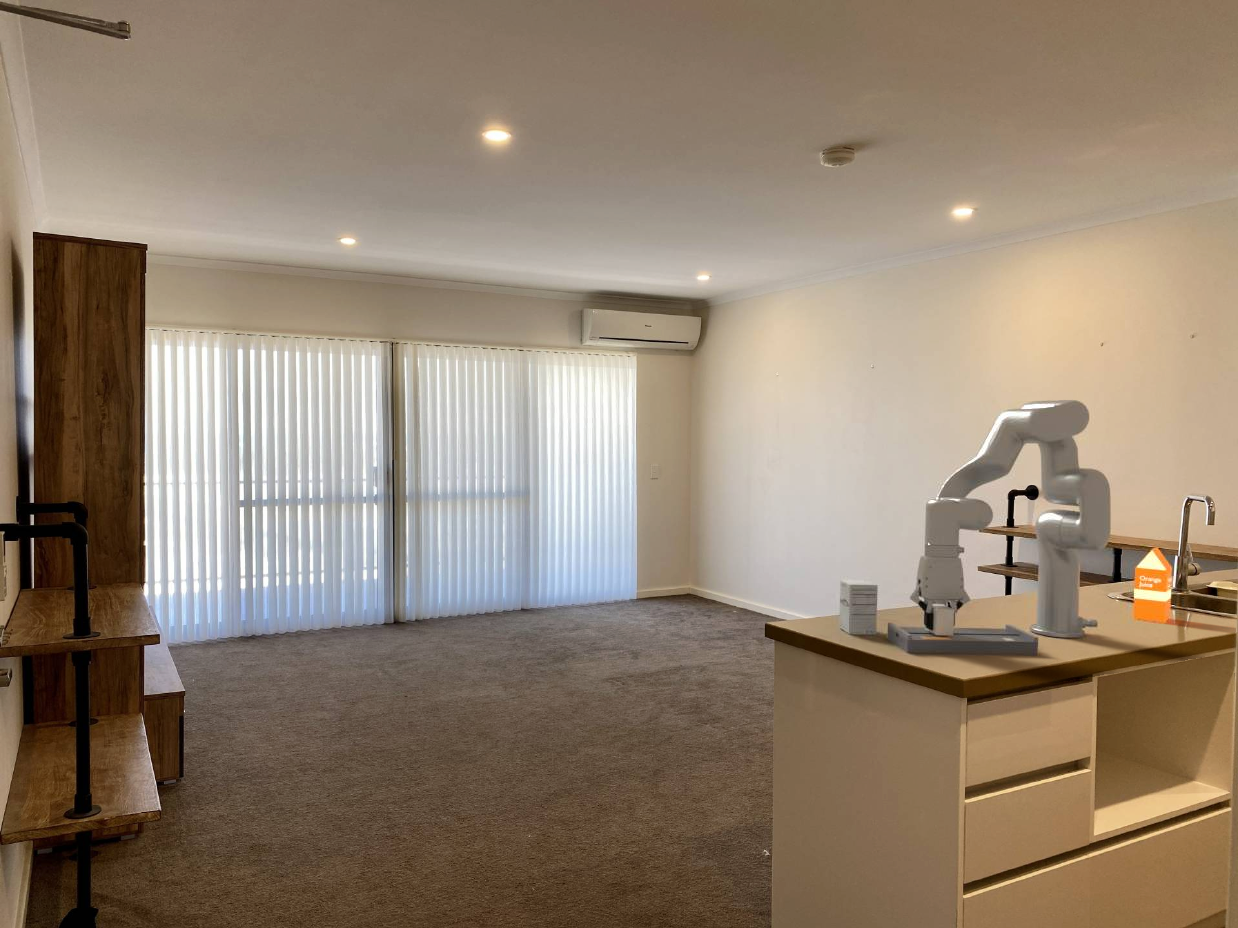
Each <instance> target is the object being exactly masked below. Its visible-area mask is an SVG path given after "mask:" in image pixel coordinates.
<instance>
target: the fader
mask: <svg viewBox="0 0 1238 928" xmlns="http://www.w3.org/2000/svg"><path fill="white" fill-rule="evenodd" d="M932 613H933V615H934V616H933V630H929V629H927V628H926V627H925V626H924V627H925V629H927V630H928V631H930V632H932V633H933V634H935V635H953V631H954V628H955V626H954V609H952V608H949V607H947V606H945V605H943V604H933V606H932Z"/></svg>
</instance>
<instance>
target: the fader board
mask: <svg viewBox="0 0 1238 928" xmlns="http://www.w3.org/2000/svg"><path fill="white" fill-rule="evenodd" d="M886 635H887V640H888V641H889V642H891V643H893V644H894V645H895V646H897V648H899V649H901V650H902V651H904V652H906V653H907V654H946V653H948V654H949V655H950V654H951V653H955V654H954V655H956V654H958V655H959V654H960V653H961V654H962V655H1007V654H1010V656H1011V654H1012V656H1013V655H1015V656H1016V655H1018V656H1022V655H1025V656H1027V655H1028V656H1038V653H1039V637H1038V636H1035V635H1033V634H1031V633H1029V632H1027V631H1025V630H1023V629H1021V628H1018V627H1016V626H1013V625H1011V624H1005V628H994V627H993V628H990V627H989V628H985V627H984V628H983V627H981V628H980V627H954V631H953V635H935V634H933V633H932V632H930V631H928V630H927V629H925V626H921V627H920V626H898V625H896V624H895V623H893V622H887V634H886ZM961 654H960V655H961Z"/></svg>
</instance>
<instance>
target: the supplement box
mask: <svg viewBox="0 0 1238 928" xmlns="http://www.w3.org/2000/svg"><path fill="white" fill-rule="evenodd" d="M839 584H840V585H839V586H840V588H839V589H840V591H839V596H840V597H839V620H838V621H839V622H838V623H839V624H838V628H839V629H840V630H842V631H844V632H846V633H847V634H848V635H857V636H859V635H862V636H863V635H867V636H868V635H869V636H870V635H872V636H873V634H874V635H877V623H878V622H877V617H878V586H879V585H878V584H875V583H874V582H871V581H869V580H867V579H841V580H840V583H839Z"/></svg>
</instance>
